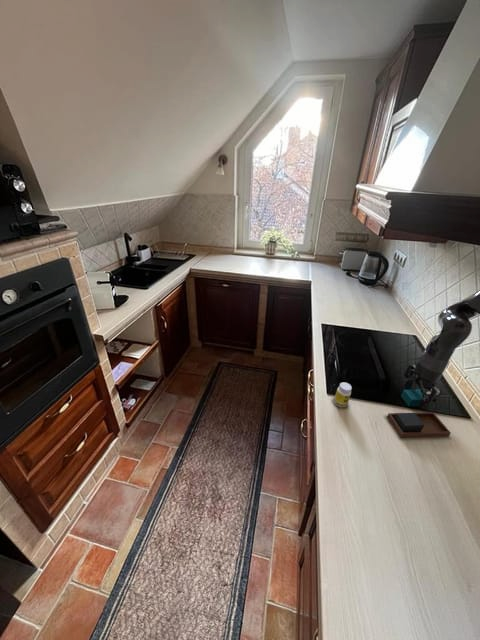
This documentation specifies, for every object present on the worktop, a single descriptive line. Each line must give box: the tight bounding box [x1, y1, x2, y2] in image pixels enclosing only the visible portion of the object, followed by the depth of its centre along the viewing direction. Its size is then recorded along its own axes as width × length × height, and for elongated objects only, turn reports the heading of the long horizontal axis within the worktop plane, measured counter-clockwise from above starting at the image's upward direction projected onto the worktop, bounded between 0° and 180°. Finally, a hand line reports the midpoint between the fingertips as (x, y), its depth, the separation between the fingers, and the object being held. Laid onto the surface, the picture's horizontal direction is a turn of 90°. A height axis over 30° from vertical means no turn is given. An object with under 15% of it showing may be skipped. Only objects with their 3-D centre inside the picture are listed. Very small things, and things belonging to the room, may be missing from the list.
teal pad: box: [400, 388, 423, 407], centre depth 95 cm, size 6×5×4 cm
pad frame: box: [386, 411, 452, 439], centre depth 85 cm, size 16×8×2 cm, turn 93°
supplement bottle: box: [333, 381, 353, 408], centre depth 92 cm, size 5×5×8 cm
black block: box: [394, 412, 424, 433], centre depth 85 cm, size 6×5×4 cm
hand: (413, 397), depth 95 cm, fingers open, 8 cm apart
